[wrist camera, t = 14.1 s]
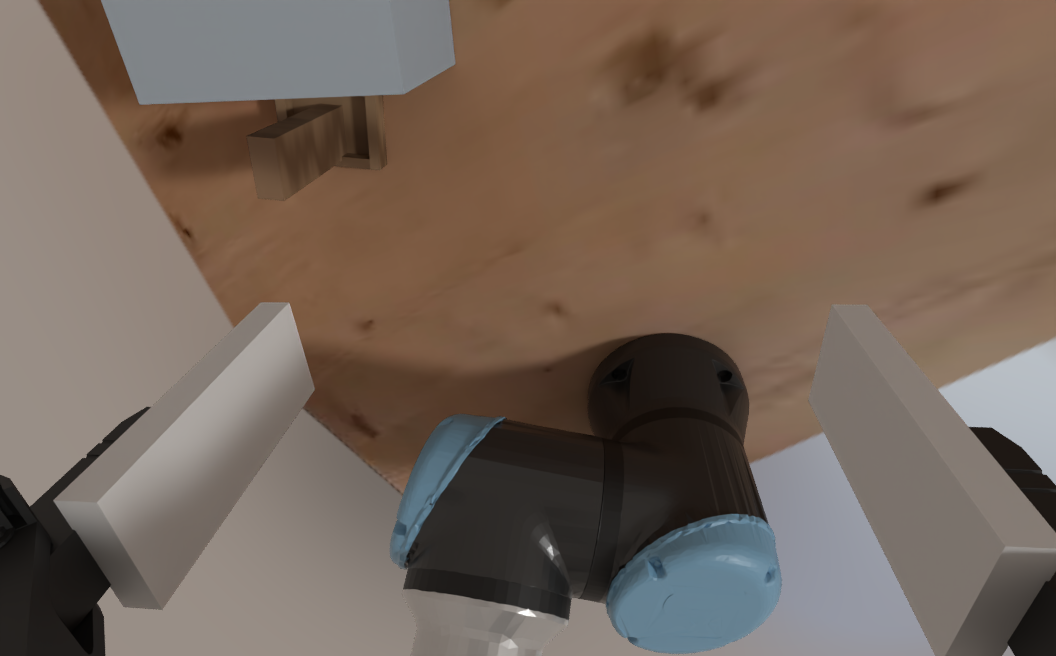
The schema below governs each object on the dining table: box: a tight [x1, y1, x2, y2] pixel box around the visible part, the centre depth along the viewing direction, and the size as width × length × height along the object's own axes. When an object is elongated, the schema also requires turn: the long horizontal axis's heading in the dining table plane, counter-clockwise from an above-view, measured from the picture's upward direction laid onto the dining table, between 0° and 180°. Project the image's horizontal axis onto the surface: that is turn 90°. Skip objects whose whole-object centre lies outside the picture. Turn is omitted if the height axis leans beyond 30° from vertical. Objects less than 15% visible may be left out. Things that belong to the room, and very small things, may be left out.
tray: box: [246, 95, 387, 201], centre depth 39 cm, size 16×8×12 cm, turn 176°
